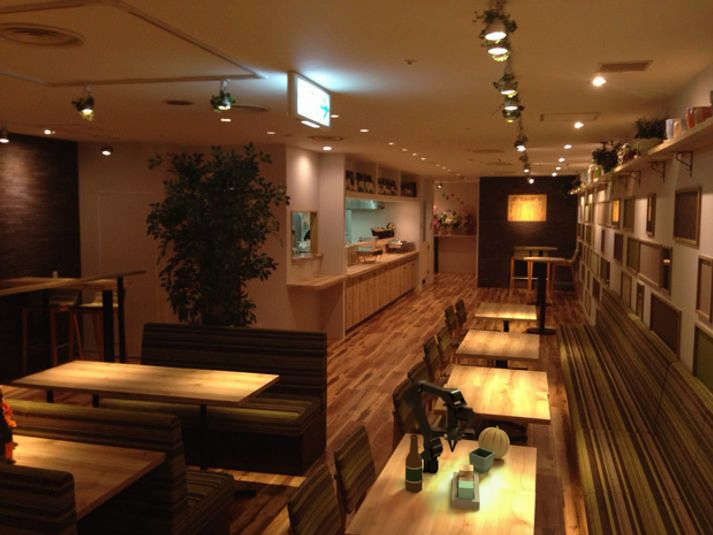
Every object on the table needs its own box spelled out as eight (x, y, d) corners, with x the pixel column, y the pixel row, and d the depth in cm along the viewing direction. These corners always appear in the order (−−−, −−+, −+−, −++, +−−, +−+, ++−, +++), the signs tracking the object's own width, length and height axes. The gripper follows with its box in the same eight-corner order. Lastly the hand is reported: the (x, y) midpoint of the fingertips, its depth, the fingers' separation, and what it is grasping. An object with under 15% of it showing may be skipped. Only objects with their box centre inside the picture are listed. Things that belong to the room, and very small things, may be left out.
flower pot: (494, 471, 287) (495, 452, 286) (484, 477, 281) (485, 458, 280) (478, 465, 293) (478, 447, 292) (467, 471, 287) (468, 452, 286)
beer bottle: (425, 486, 273) (425, 433, 270) (419, 494, 266) (419, 440, 263) (408, 483, 276) (408, 430, 273) (401, 491, 269) (402, 437, 266)
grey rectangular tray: (451, 507, 255) (452, 500, 255) (453, 478, 281) (453, 471, 280) (479, 509, 253) (479, 502, 253) (478, 480, 279) (478, 473, 278)
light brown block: (458, 481, 272) (458, 470, 271) (458, 474, 278) (459, 464, 277) (472, 482, 271) (473, 471, 270) (472, 475, 277) (473, 465, 276)
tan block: (458, 494, 264) (458, 483, 264) (458, 488, 270) (458, 477, 270) (473, 495, 263) (473, 484, 263) (472, 489, 269) (473, 478, 269)
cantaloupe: (474, 461, 298) (475, 430, 296) (481, 449, 311) (481, 420, 310) (506, 466, 292) (507, 435, 290) (511, 454, 306) (512, 424, 304)
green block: (458, 498, 256) (458, 487, 256) (458, 492, 262) (458, 480, 262) (473, 500, 255) (473, 488, 255) (473, 493, 261) (473, 481, 261)
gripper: (430, 423, 269) (430, 458, 271) (475, 425, 266) (474, 461, 268) (431, 414, 280) (431, 447, 282) (474, 416, 277) (473, 450, 278)
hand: (452, 452), depth 277 cm, fingers closed
